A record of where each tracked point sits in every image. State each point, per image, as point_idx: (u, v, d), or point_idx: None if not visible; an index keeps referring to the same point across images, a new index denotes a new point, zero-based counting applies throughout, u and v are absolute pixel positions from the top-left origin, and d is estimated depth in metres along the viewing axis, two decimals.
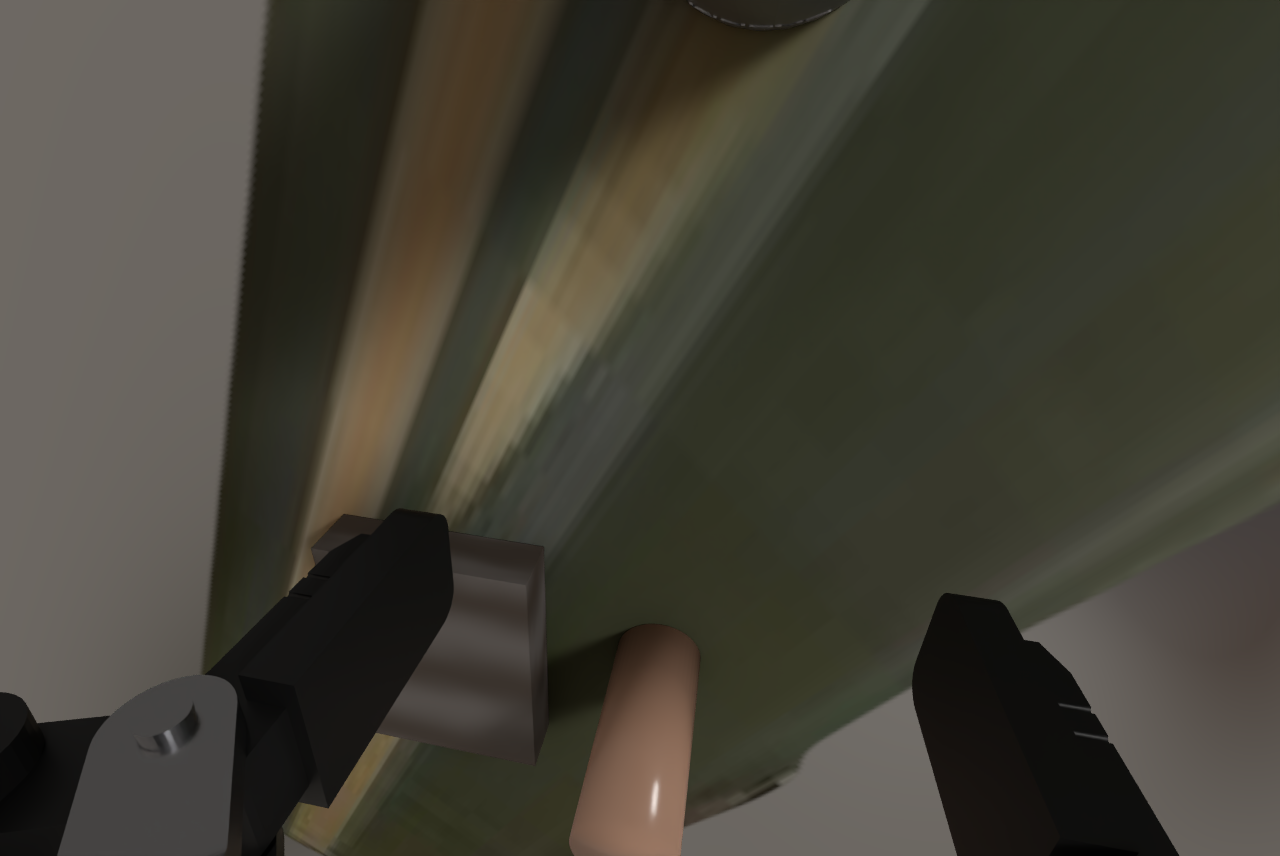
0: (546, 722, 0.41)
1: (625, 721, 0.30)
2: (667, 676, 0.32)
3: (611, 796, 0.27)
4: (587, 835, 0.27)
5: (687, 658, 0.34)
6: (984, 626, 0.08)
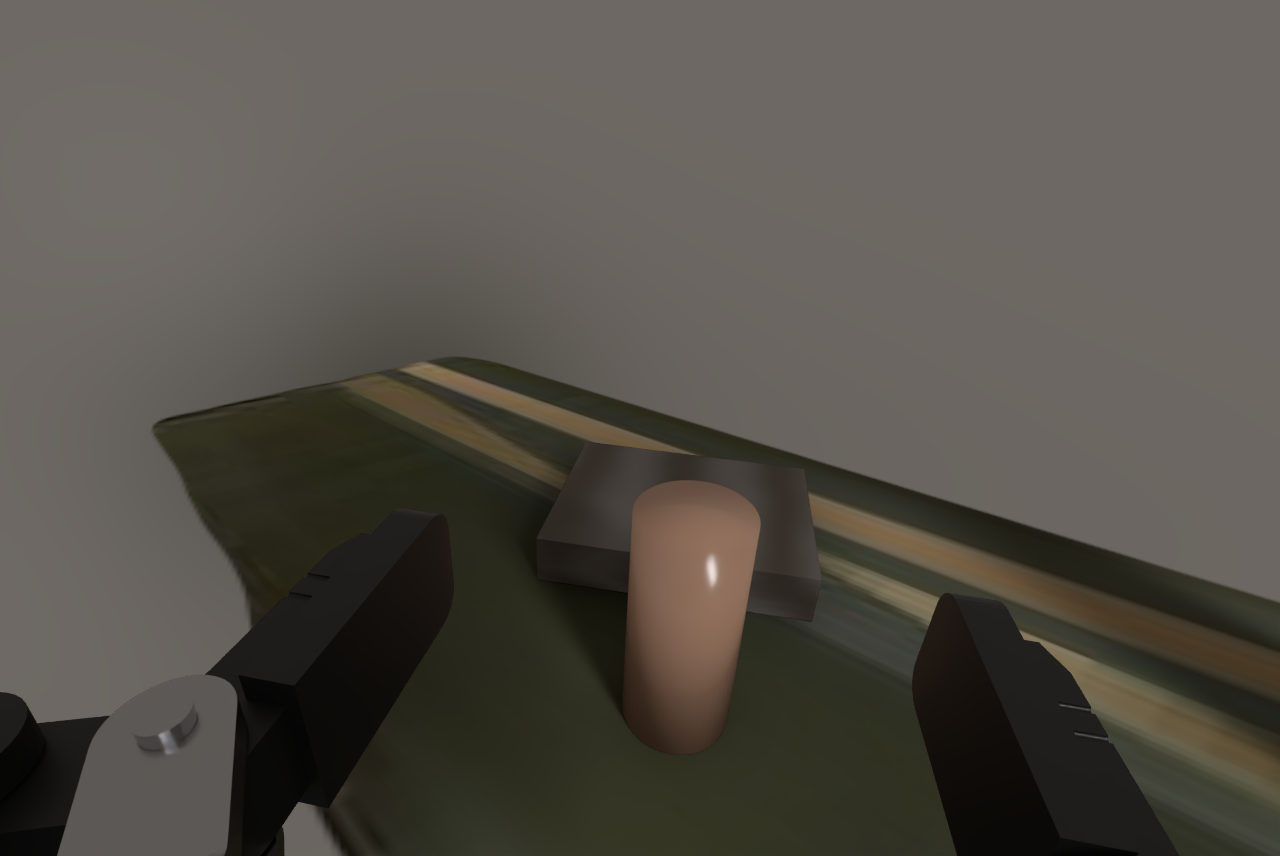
0: (551, 574, 0.36)
1: None
2: (733, 677, 0.26)
3: None
4: (720, 494, 0.25)
5: (714, 722, 0.26)
6: (984, 626, 0.08)
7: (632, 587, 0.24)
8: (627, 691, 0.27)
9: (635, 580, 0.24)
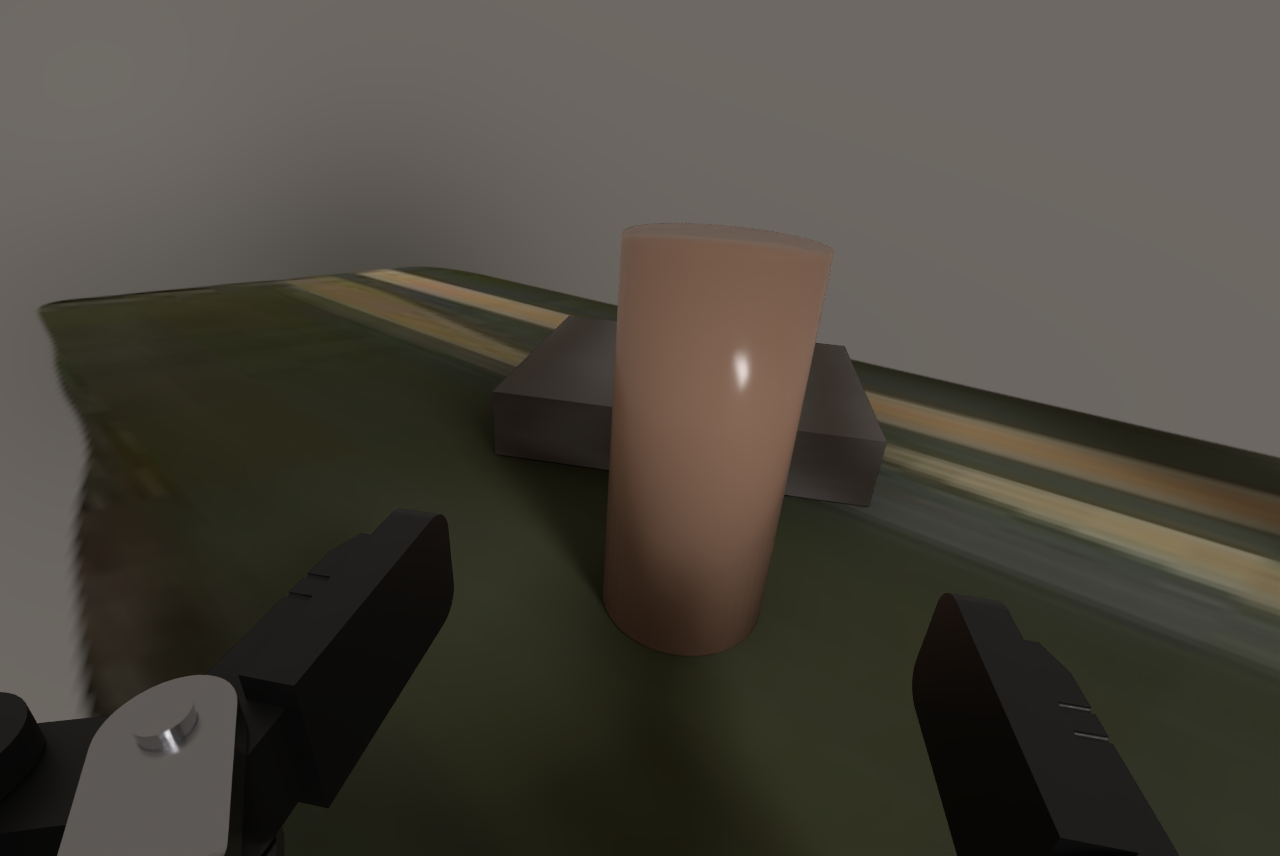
0: (513, 446, 0.26)
1: None
2: (774, 536, 0.17)
3: None
4: (762, 233, 0.16)
5: (743, 606, 0.17)
6: (984, 626, 0.08)
7: (619, 367, 0.15)
8: (609, 559, 0.18)
9: (624, 348, 0.14)
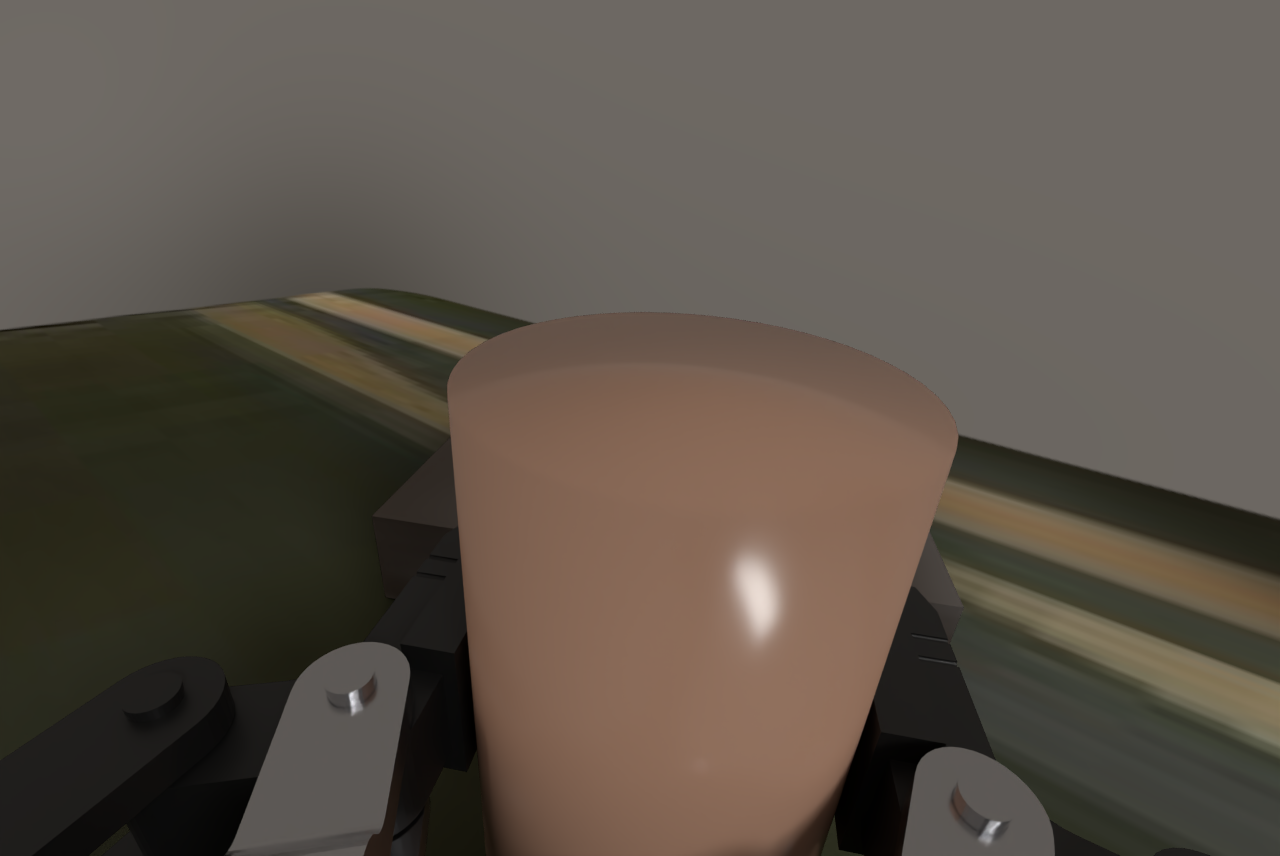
0: None
1: None
2: None
3: None
4: (777, 340, 0.08)
5: None
6: None
7: (468, 645, 0.07)
8: None
9: (469, 624, 0.06)
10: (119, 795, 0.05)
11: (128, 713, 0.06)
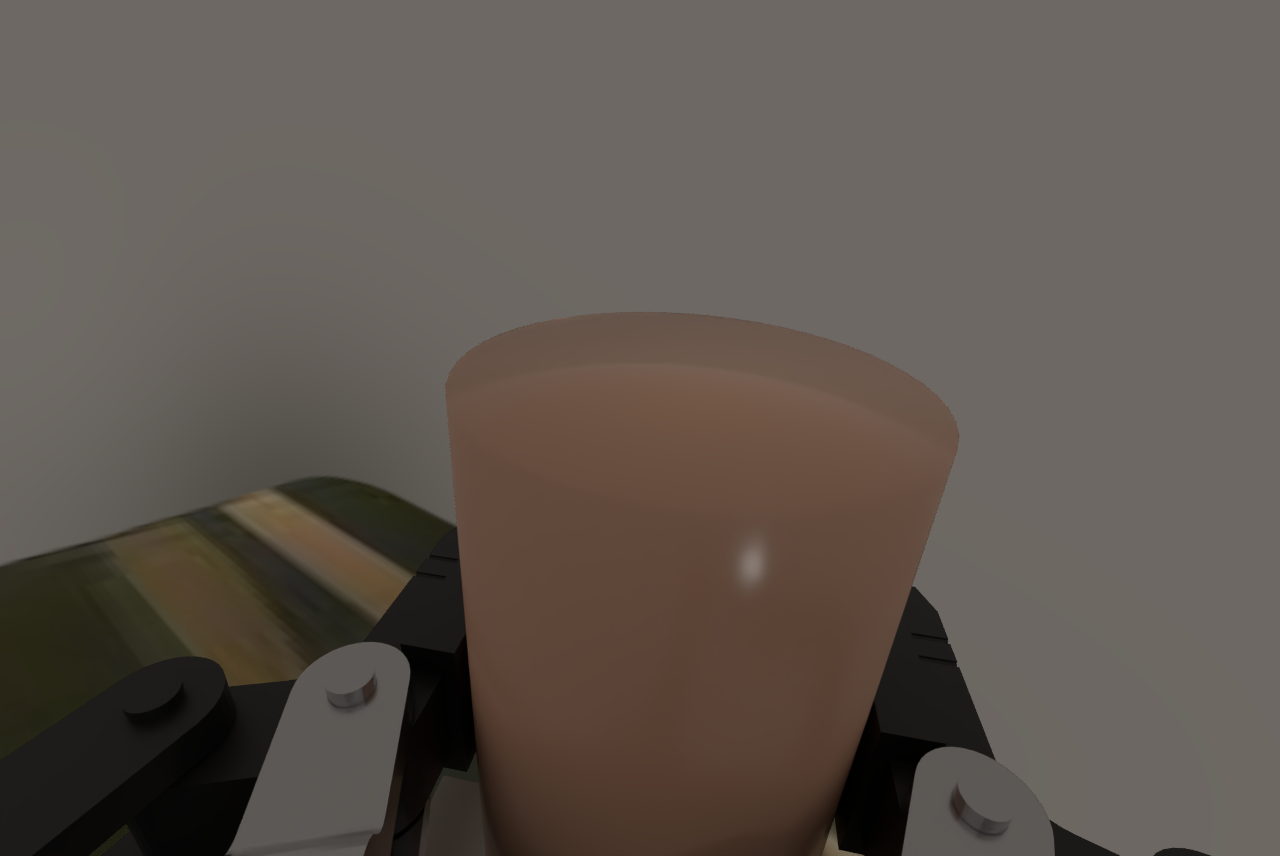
0: None
1: None
2: None
3: None
4: (777, 340, 0.08)
5: None
6: None
7: (467, 646, 0.07)
8: None
9: (468, 625, 0.06)
10: (118, 796, 0.05)
11: (128, 713, 0.06)
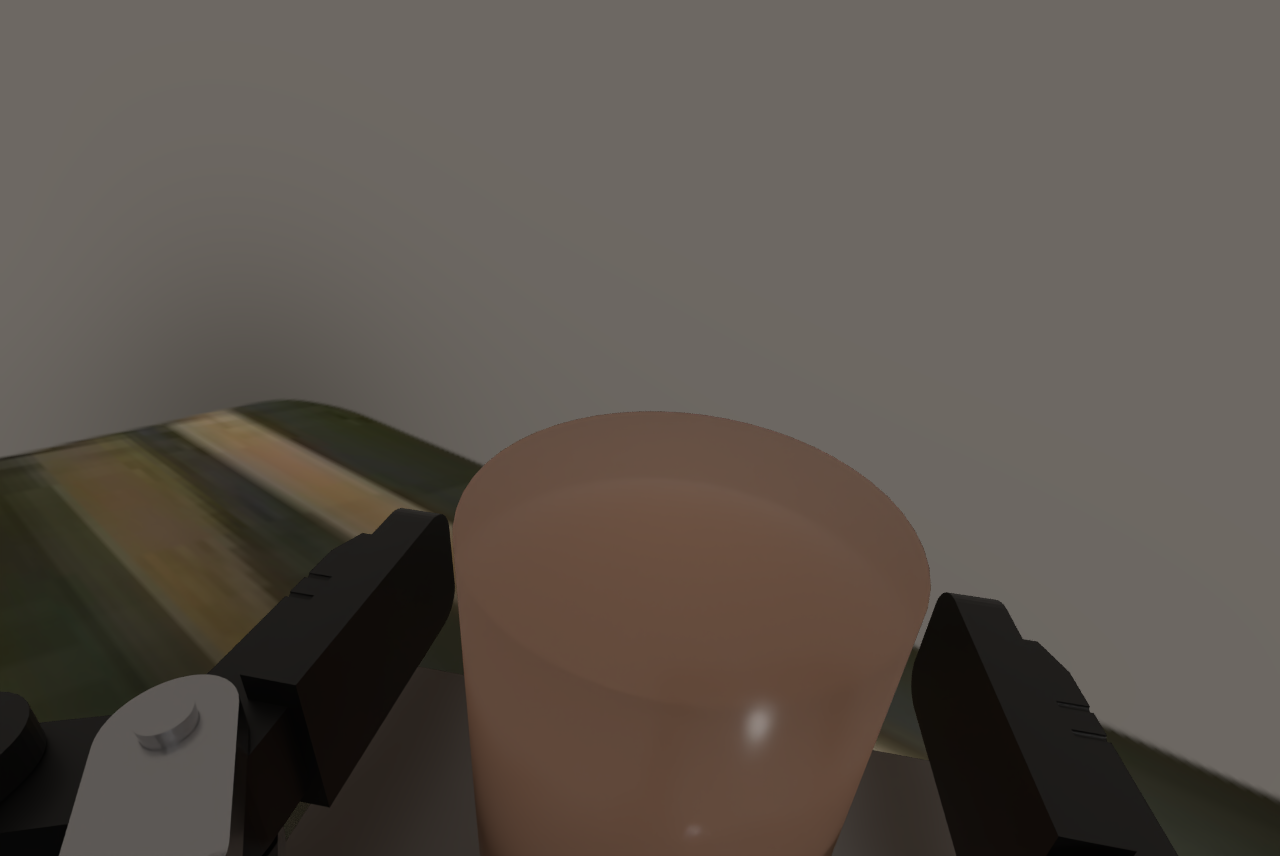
0: None
1: None
2: None
3: None
4: (767, 450, 0.08)
5: None
6: (983, 625, 0.08)
7: None
8: None
9: (472, 738, 0.07)
10: None
11: None
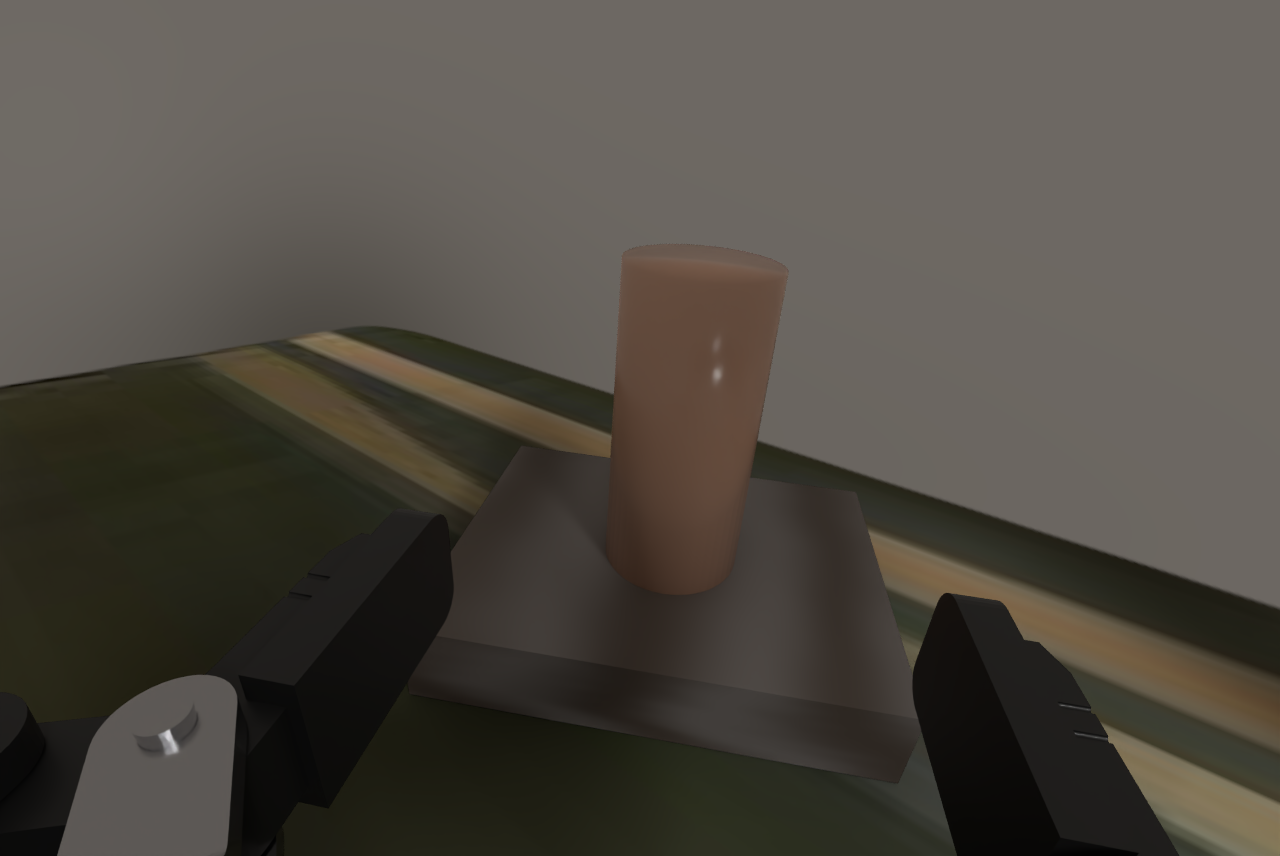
0: (432, 688, 0.20)
1: None
2: (745, 497, 0.21)
3: None
4: (734, 253, 0.20)
5: (720, 554, 0.21)
6: (984, 626, 0.08)
7: (620, 362, 0.19)
8: (611, 518, 0.21)
9: (624, 348, 0.18)
10: None
11: None
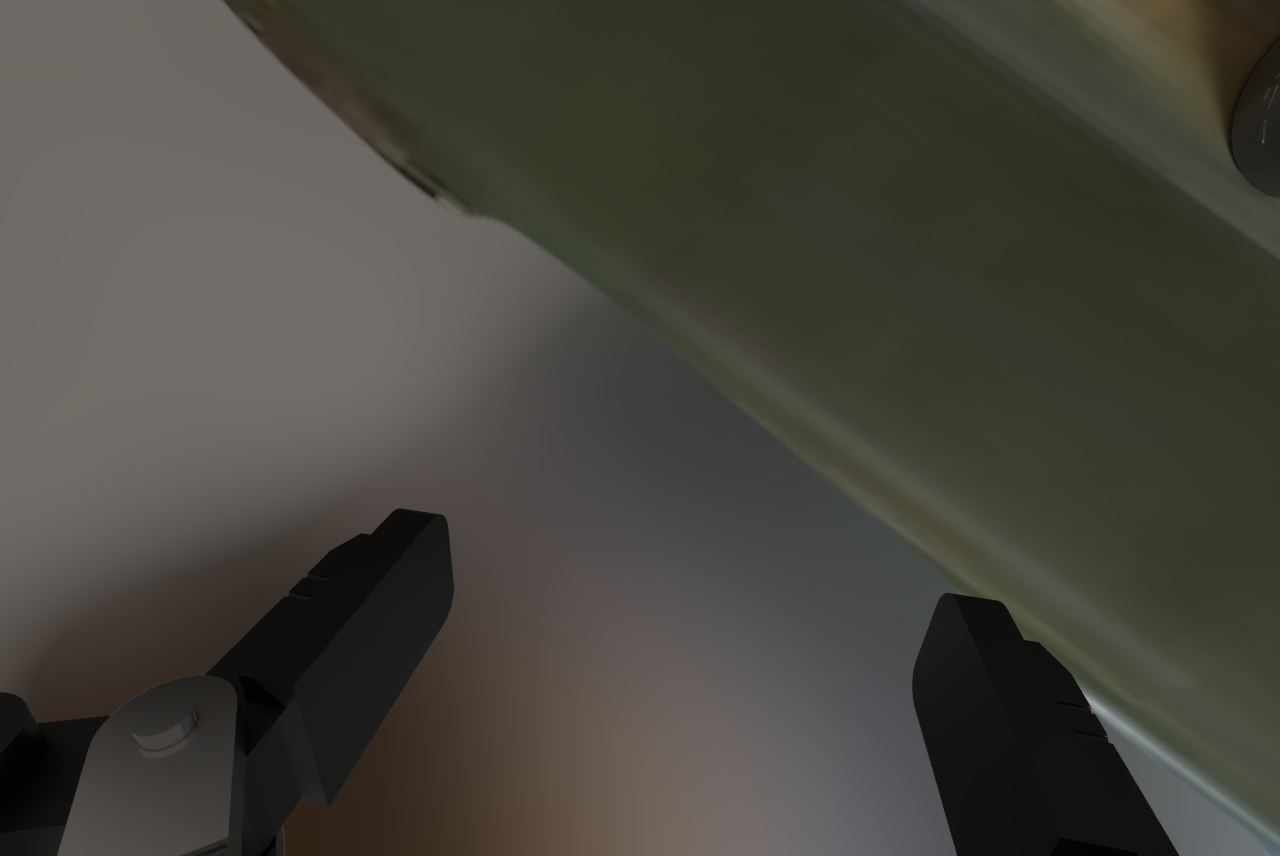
0: None
1: None
2: None
3: None
4: None
5: None
6: (984, 626, 0.08)
7: None
8: None
9: None
10: None
11: None
